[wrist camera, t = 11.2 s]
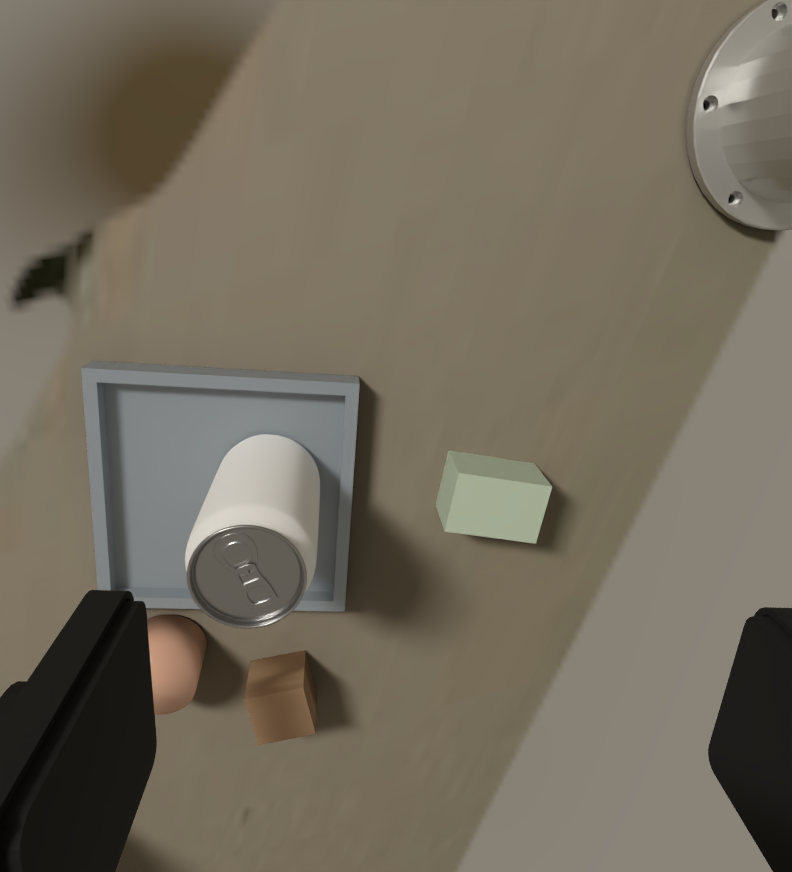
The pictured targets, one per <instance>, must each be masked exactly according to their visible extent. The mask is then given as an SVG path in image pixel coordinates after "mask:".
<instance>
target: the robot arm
mask: <svg viewBox="0 0 792 872" xmlns="http://www.w3.org/2000/svg"><path fill="white" fill-rule="evenodd" d="M772 14H773V17H772ZM703 102H705V104H706V108H705V110H704V109H703ZM686 139H687V150H688V157H689V161H690V164H691V168H692V171H693V175H694V177H695V179H696V181H697V183H698V185H699V187H700V189H701V191H702V193H703V194H704V195H705V196H706V198H707V199H708V200H709V201H710V203H711V204H712V205H713V206H714V207H715V208H716V209H717V210H718V211H720V212H721V213H722V214H724V215H725V216H726V217H728V218H729V219H731V220H733V221H735V222H738V223H740V224H742V225H744V226H748V227H753V228H758V229H763V230H788V229H792V0H766V1H765V2H763V3H761V4H759V5H758V6H756V7H754V8H752V9H751V10H749V11H748V12H747V13H746V14H745V15H743V16H742V17H741V18H740V19H739V20H737V21H736V22H735V23H734V24H733V25H732V26H731V27H730V28H729V29H728V30H727V31H726V33H725V34H724V35H723V36H722V37H721V38H720V40H719V41H718V42H717V43H716V44H715V46H714V48H713V49H712V51H711V53H710V54H709V56H708V57H707V59H706V61H705V62H704V64H703V66H702V68H701V71H700V73H699V75H698V78H697V80H696V83H695V85H694V87H693V92H692V96H691V100H690V104H689V108H688V114H687V127H686ZM729 196H730V201H729V202H728V198H729ZM155 754H156V727H155V714H154V702H153V689H152V676H151V664H150V651H149V638H148V626H147V613H146V605H145V603H144V602H143V601H134V597H133V594H132V593H131V592H130V591H115V590H91V591H89V592H88V593H87V594H86V595H85V596H84V598H83V599H82V601H81V602H80V604H79V605H78V607H77V608H76V610H75V611H74V613H73V614H72V616H71V617H70V619H69V620H68V622H67V623H66V625H65V626H64V628H63V629H62V630H61V632H60V633H59V635H58V636H57V638H56V639H55V641H54V642H53V644H52V645H51V647H50V648H49V650H48V651H47V653H46V654H45V656H44V657H43V659H42V660H41V662H40V663H39V665H38V666H37V667H36V669H35V670H34V672H33V673H32V675H31V676H30V678H29V679H28V681H27V682H20V681H18V682H16V683H14V684H12V685H11V686H10V687H9V688H8V689H7V690H6V691H5V692H4V694H3V695H2V696H1V698H0V872H115V870H116V868H117V865H118V862H119V859H120V857H121V854H122V851H123V848H124V845H125V843H126V840H127V837H128V834H129V831H130V829H131V826H132V823H133V820H134V818H135V815H136V812H137V809H138V806H139V804H140V801H141V798H142V795H143V792H144V790H145V787H146V784H147V781H148V779H149V776H150V773H151V770H152V767H153V764H154V759H155ZM708 754H709V761H710V765H711V768H712V770H713V772H714V774H715V776H716V777H717V779H718V781H719V783H720V784H721V786H722V788H723V789H724V791H725V793H726V794H727V796H728V798H729V799H730V801H731V802H732V804H733V806H734V807H735V809H736V811H737V812H738V814H739V816H740V817H741V819H742V821H743V822H744V824H745V826H746V827H747V829H748V831H749V832H750V834H751V836H752V837H753V839H754V841H755V842H756V844H757V845H758V847H759V849H760V851H761V852H762V854H763V856H764V857H765V859H766V861H767V862H768V864H769V865H770V867H771V869H772V870H773V872H792V608H766V607H765V608H761V609H759V610H758V611H757V612H756V613H755V616H754V617H750V618H748V619H747V620H746V623H745V625H744V628H743V632H742V635H741V639H740V643H739V645H738V649H737V652H736V655H735V659H734V662H733V666H732V669H731V672H730V677H729V679H728V683H727V686H726V689H725V693H724V696H723V700H722V703H721V707H720V710H719V713H718V717H717V720H716V723H715V727H714V730H713V734H712V737H711V741H710V744H709V749H708Z"/></svg>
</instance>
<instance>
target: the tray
mask: <svg viewBox="0 0 792 872" xmlns="http://www.w3.org/2000/svg"><path fill="white" fill-rule="evenodd" d="M81 372H82V386H83V399H84V412H85V426H86V439H87V452H88V466H89V479H90V492H91V506H92V519H93V533H94V546H95V559H96V573H97V586H98V590H115V591H130V592H131V593H132V594H133V597H134V601H143V602H144V603H145V605H146V608H169V609H200V608H199V607H198V606H197V604H196V603H195V602H194V600H193V598H192V596H191V594H190V592H189V589H188V584H187V571H186V566H185V553H186V547H187V543H188V540H189V537H190V534H191V532H192V529H193V527H194V525H195V522H196V520H197V517H198V515H199V513H200V510H201V508H202V506H203V503H204V501H205V498H206V496H207V494H208V491H209V489H210V487H211V485H212V482H213V480H214V478H215V475H216V473H217V471H218V469H219V466H220V464H221V462H222V460H223V459H224V457H225V456H226V454H227V453H228V452H229V451H230V450H231V449H232V448H233V447H234V446H235V445H237V444H238V443H240V442H241V441H243V440H245V439H247V438H249V437H252V436H256V435H261V434H271V435H278V436H283V437H286V438H289V439H291V440H293V441H295V442H297V443H298V444H300V445H301V446H302V447H303V448H305V449H306V450H307V451H308V453H309V454H310V455H311V456H312V458H313V459H314V461H315V463H316V465H317V468H318V471H319V477H320V503H319V526H318V545H317V560H316V568H315V572H314V576H313V579H312V581H311V584H310V585H309V587H308V589H307V590H306V592H305V593H304V595H303V597H302V599H301V601H300V603H299V604H298V605H297V607H296V608H295V609H294V610H293V611H336V612H345V599H346V584H347V569H348V554H349V538H350V523H351V508H352V493H353V478H354V462H355V447H356V432H357V417H358V401H359V386H360V383H359V376H345V375H328V374H311V373H293V372H276V371H258V370H241V369H224V368H206V367H189V366H171V365H154V364H137V363H119V362H102V361H91V362H90V363H88V364H87V365H85V366H83V367H82V368H81Z"/></svg>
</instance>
